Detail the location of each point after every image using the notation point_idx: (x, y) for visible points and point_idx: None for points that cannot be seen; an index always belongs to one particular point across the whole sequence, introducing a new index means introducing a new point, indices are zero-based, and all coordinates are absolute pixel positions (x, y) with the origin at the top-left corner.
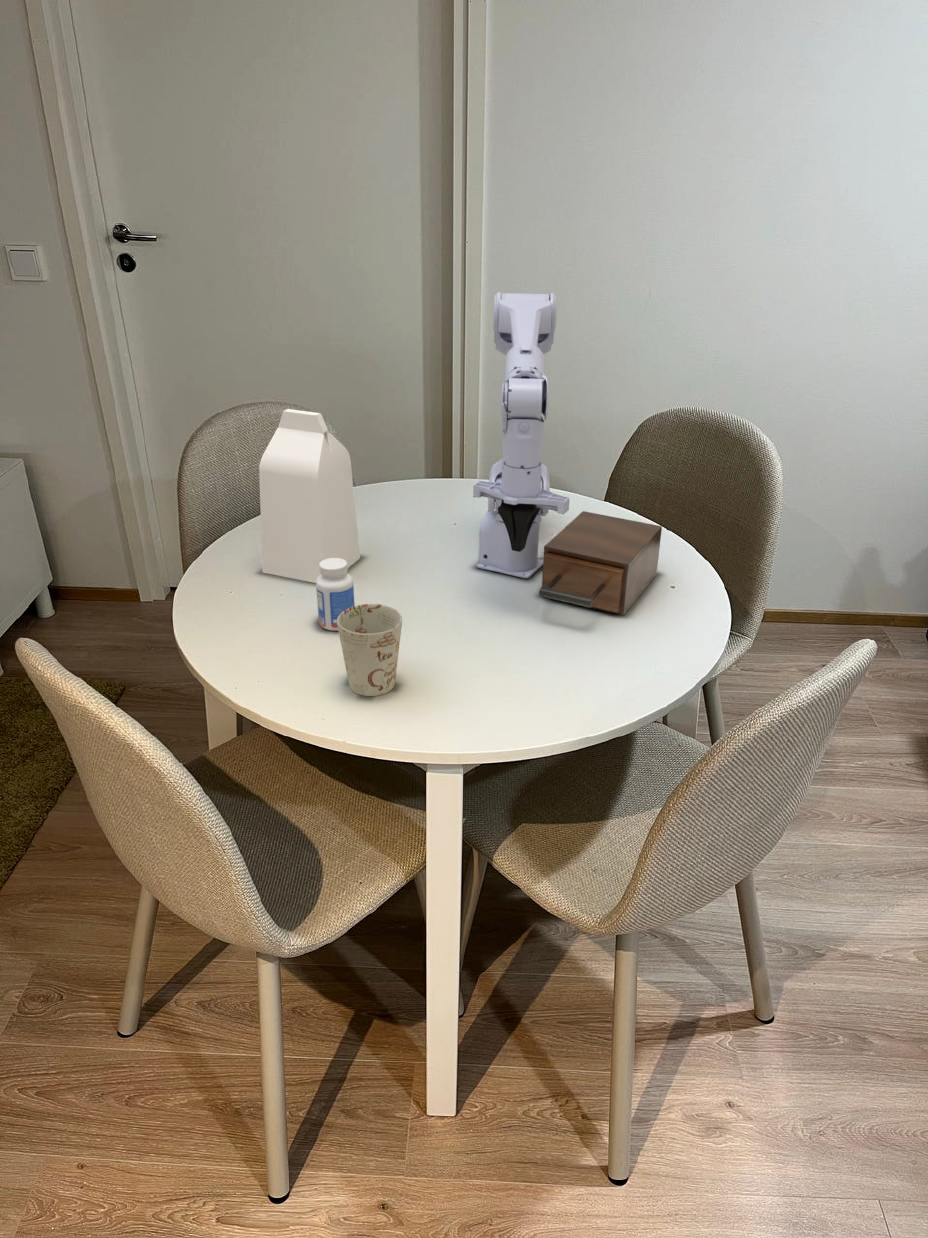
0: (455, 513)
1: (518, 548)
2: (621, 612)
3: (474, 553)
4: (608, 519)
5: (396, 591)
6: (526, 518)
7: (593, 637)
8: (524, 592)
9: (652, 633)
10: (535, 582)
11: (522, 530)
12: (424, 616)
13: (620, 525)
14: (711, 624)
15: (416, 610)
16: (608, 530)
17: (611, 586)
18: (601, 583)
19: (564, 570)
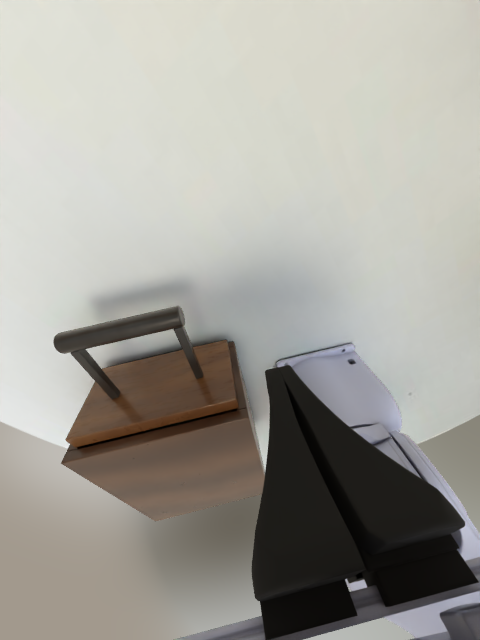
0: (414, 406)
1: (270, 376)
2: None
3: (368, 365)
4: (224, 499)
5: (460, 198)
6: (262, 535)
7: (68, 295)
8: (260, 334)
9: (27, 361)
10: (263, 361)
11: (273, 442)
12: (381, 134)
13: (198, 500)
14: (12, 418)
15: (405, 149)
16: (200, 489)
17: (98, 402)
18: (116, 399)
19: (190, 389)
